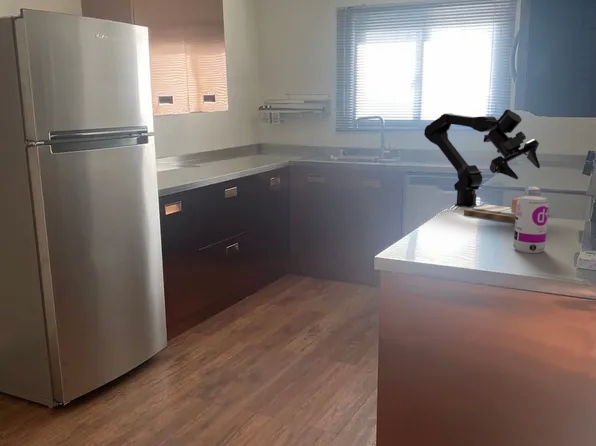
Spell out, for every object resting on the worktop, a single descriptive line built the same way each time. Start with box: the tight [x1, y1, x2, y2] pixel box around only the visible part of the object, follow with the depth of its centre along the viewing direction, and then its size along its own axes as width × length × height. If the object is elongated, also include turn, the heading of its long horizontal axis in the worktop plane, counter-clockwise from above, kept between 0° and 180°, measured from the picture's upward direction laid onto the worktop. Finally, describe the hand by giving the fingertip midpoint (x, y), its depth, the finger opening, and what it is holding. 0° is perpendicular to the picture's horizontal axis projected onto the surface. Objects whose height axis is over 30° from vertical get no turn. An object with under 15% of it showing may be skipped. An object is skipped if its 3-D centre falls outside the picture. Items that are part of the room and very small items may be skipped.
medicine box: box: [524, 186, 542, 197], centre depth 224 cm, size 8×4×9 cm, turn 168°
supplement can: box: [512, 195, 550, 254], centre depth 165 cm, size 8×8×15 cm
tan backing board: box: [463, 203, 516, 224], centre depth 213 cm, size 22×16×3 cm
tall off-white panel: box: [500, 196, 520, 216], centre depth 209 cm, size 6×11×5 cm, turn 137°
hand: (528, 173), depth 210 cm, fingers open, 9 cm apart
